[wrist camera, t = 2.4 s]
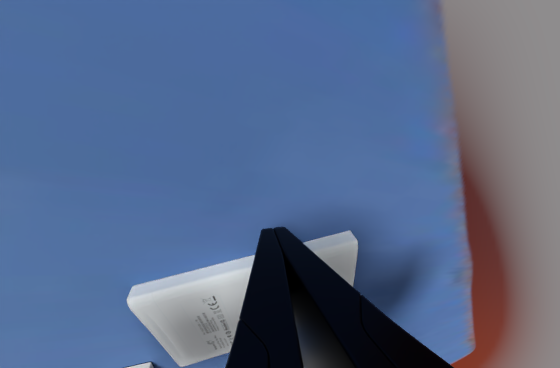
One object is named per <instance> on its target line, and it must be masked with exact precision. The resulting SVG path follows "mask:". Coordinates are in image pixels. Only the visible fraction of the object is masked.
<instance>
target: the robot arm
mask: <svg viewBox="0 0 560 368" xmlns="http://www.w3.org/2000/svg"><path fill="white" fill-rule="evenodd" d="M225 368H454V367H452V366H451V365H450V364H448V363H447V362H446V361H444V360H443V359H442V358H440V357H439V356H438V355H436V354H435V353H434V352H432V351H431V350H430V349H428V348H427V347H426V346H424V345H423V344H422V343H421V342H419V341H418V340H417V339H415V338H414V337H413V336H411V335H410V334H409V333H407V332H406V331H405V330H404V329H402V328H401V327H400V326H398V325H397V324H396V323H395V322H393V321H392V320H391V319H390V318H389V317H387V316H386V315H385V314H384V313H383V312H381V311H380V310H379V309H378V308H377V307H375V306H374V305H373V304H372V303H371V302H370V301H369V300H367V299H366V298H365V297H364V296H363V295H360V293H359V292H358V291H357V290H356V289H355V288H354V287H352V286H351V285H350V284H349V283H348V282H347V281H346V280H344V279H343V278H342V277H341V276H340V275H339V274H338V273H336V272H335V271H334V270H333V269H332V268H331V267H330V266H328V265H327V264H326V263H325V262H324V261H323V260H322V259H321V258H319V257H318V256H317V255H316V254H315V253H314V252H313V251H311V250H310V249H309V248H308V247H307V246H306V245H305V244H303V243H302V242H301V241H300V240H299V239H298V238H297V237H295V236H294V235H293V234H292V233H291V232H290V231H289V230H287V229H286V228H285V227H276V228H274V229H272V228H267V229H262V230H261V234H260V238H259V242H258V246H257V250H256V254H255V257H254V261H253V265H252V269H251V273H250V277H249V281H248V285H247V289H246V293H245V297H244V301H243V305H242V309H241V313H240V317H239V321H238V324H237V328H236V332H235V336H234V340H233V343H232V347H231V350H230V354H229V357H228V361H227V364H226V367H225Z"/></svg>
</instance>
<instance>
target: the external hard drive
mask: <svg viewBox="0 0 560 368" xmlns="http://www.w3.org/2000/svg"><path fill="white" fill-rule="evenodd" d="M303 244H305V245H306V246H307V247H308V248H309V249H310V250H311V251H313V252H314V253H315V254H316V255H317V256H318V257H319V258H321V259H322V260H323V261H324V262H325V263H326V264H327V265H328V266H330V267H331V268H332V269H333V270H334V271H335V272H336V273H338V274H339V275H340V276H341V277H342V278H343V279H344V280H346V281H347V282H348V283H349V284H350V285H351V286H352V287H353V283H354V277H355V269H356V262H357V254H358V241H357V239H356V238H355V237H354V235H353V234H352V233H351V231H350V230H349V231H346V232H342V233H338V234H334V235H330V236H326V237H322V238H318V239H314V240H311V241H307V242H303ZM254 257H255V255H252V256H248V257H244V258H240V259H236V260H232V261H228V262H224V263H220V264H217V265H213V266H209V267H205V268H201V269H197V270H193V271H189V272H185V273H181V274H177V275H173V276H170V277H166V278H162V279H158V280H154V281H150V282H146V283H142V284H138V285H134V286H132V289H131V291H130V293H129V295H128V298H127V303H128V306H129V308H130V310H131V311H132V312H133V313H134V314H135V315H136V316H137V318H138V319H139V320H140V321H141V322H142V323H143V324H144V325H145V326H146V328H147V329H148V330H149V331H150V332H151V333H152V335H153V336H154V337H155V338H156V339H157V340H158V341H159V343H160V344H161V345H162V346H163V347H164V349H165V350H166V351H167V352H168V353H169V354H170V356H171V357H172V358H173V359H174V360H175V362H176V363H177V364H178V365H179V366H180V367H184V366H187V365H190V364H194V363H197V362H199V361H203V360H206V359H209V358H213V357H216V356H219V355H222V354H225V353H229V352H230V350H231V347H232V343H233V340H234V336H235V332H236V328H237V324H238V321H239V317H240V313H241V309H242V305H243V301H244V297H245V293H246V289H247V285H248V281H249V277H250V273H251V269H252V265H253V261H254Z"/></svg>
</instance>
